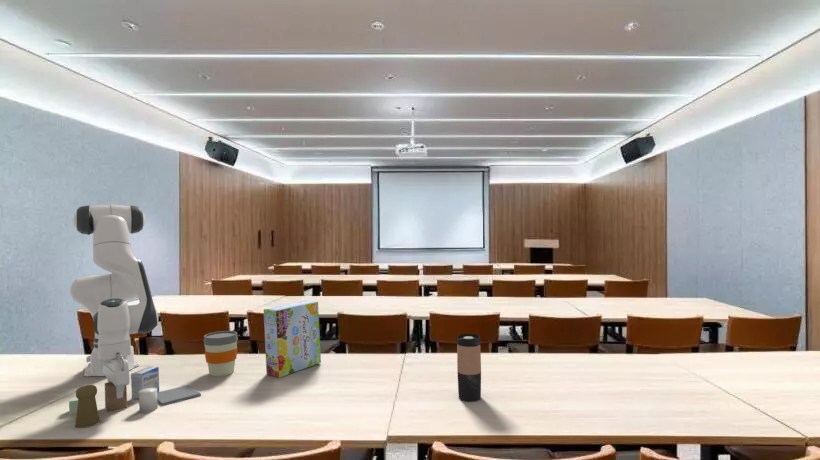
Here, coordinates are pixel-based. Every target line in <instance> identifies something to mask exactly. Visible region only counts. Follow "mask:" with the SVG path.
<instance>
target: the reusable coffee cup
mask: <svg viewBox="0 0 820 460" xmlns="http://www.w3.org/2000/svg"><path fill="white" fill-rule="evenodd" d="M238 341H239V337H238V332H237V331H235V330H234V331H233V330H221V331H219V330H218V331H214V332H209V333H206V334H205V335H203V345H204V348H205V349H204V357H205V362H206V363H207V367H208V375H209V376H210V377H224V376H229V375H231V374H233V373H235V365H236V364H235V363H236V360H237V355H238V346H237V345H238Z"/></svg>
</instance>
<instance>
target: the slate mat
mask: <svg viewBox="0 0 820 460" xmlns="http://www.w3.org/2000/svg"><path fill="white" fill-rule="evenodd" d="M200 396H202V393H201V392H199V391H198V390H197V389H195V388H194V387H192V386H191V385H190V384H187V385H182V386H179V387H174V388H170V389H166V390H165V389H164V390H162V391H158V392H157V403H158V404H159V405H161V406H165V405H166V406H167V405H170V404H173V403H179V402H182V401H185V400H189V399H193V398H198V397H200Z"/></svg>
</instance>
